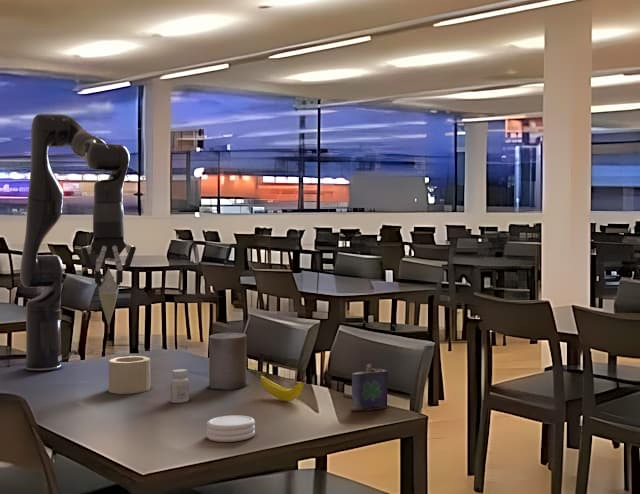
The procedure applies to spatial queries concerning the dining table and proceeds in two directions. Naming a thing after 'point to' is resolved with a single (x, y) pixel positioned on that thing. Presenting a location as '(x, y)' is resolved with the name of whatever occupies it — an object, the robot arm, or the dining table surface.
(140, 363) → the hollow cream cylinder
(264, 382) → the banana
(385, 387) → the flask
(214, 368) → the pillar candle
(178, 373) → the pill bottle
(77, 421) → the dining table surface
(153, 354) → the dining table surface
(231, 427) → the coaster
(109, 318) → the grey tall pointed piece
